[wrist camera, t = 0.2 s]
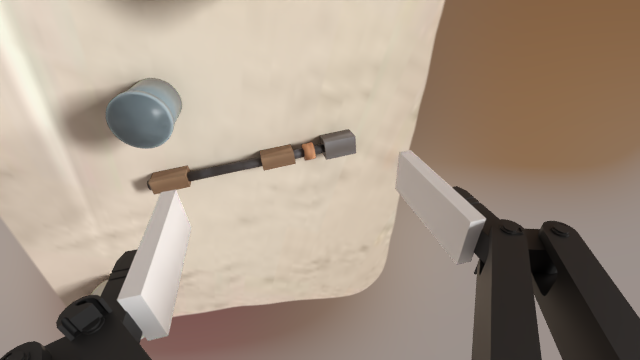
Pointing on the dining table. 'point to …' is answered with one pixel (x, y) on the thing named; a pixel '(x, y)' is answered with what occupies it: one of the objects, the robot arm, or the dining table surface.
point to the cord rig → (257, 161)
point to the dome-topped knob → (144, 113)
